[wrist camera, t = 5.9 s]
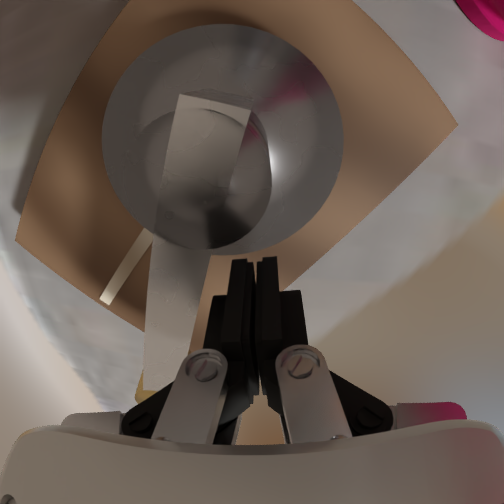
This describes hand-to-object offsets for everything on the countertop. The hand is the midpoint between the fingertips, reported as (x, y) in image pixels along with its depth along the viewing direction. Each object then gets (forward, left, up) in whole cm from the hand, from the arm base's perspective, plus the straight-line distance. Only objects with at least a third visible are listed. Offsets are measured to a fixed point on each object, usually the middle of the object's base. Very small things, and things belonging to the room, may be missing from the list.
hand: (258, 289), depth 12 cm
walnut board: (-1, -4, -5) cm, 7 cm away
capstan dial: (+1, -3, -3) cm, 4 cm away
